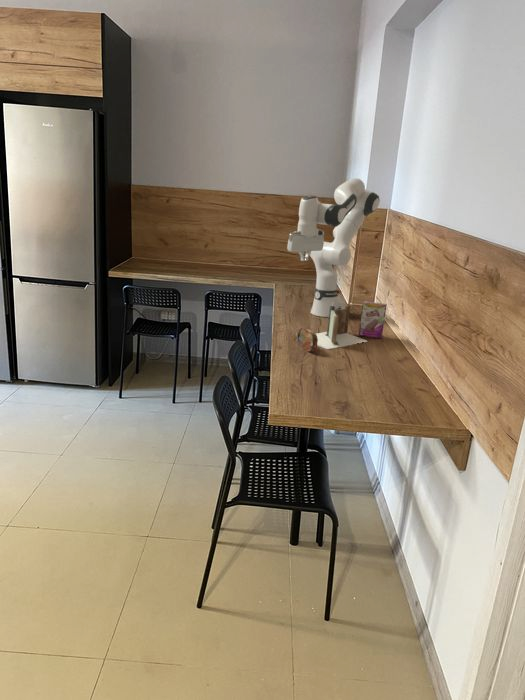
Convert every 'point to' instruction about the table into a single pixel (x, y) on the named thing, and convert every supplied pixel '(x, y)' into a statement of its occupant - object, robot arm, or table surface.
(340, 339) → the card
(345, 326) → the fence
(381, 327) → the candy bar box
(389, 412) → the table surface
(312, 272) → the table surface
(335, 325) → the fence panel
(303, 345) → the tin
